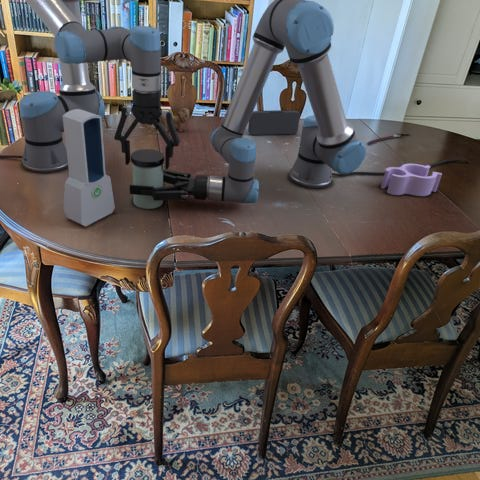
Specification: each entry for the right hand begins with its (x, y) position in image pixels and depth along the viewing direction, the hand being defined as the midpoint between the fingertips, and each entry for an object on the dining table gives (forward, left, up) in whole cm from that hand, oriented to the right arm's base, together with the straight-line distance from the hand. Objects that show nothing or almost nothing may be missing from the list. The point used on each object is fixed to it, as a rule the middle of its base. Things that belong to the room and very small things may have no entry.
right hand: (132, 182), depth 140 cm
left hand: (-4, +2, +6) cm, 8 cm away
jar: (-4, +2, -6) cm, 8 cm away
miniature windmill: (-1, -63, -6) cm, 64 cm away
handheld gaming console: (-73, -43, -6) cm, 85 cm away
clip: (-96, +18, -6) cm, 98 cm away
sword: (-125, -25, -6) cm, 127 cm away
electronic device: (+14, +6, -6) cm, 16 cm away
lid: (-4, +2, +9) cm, 10 cm away
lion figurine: (-32, -56, -6) cm, 65 cm away
